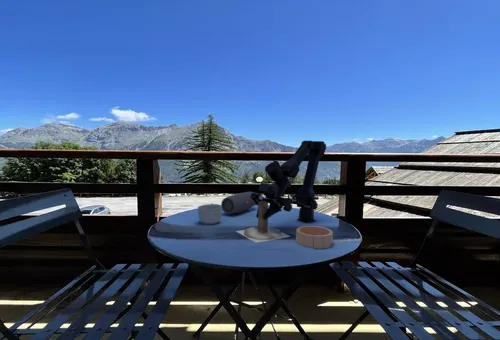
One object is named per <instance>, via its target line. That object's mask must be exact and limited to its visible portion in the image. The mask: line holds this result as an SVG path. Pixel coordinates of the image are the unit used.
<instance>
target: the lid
mask: <svg viewBox="0 0 500 340" xmlns="http://www.w3.org/2000/svg"><path fill="white" fill-rule="evenodd" d="M268 208H269V203H268V202H266V201H260V202H258V205H257V210H258V218H257V226H253V227H248V228H246V229H244V230H245V231H244V235H245V236H247V237H249V238H252V239H258V240H269V241H271V240H270V239H274V240H277V239H276V238H279V237H280V236H281V232H282V231H281V230H280V229H278V228H275V227H272V226H271V227H270V226H268V225H269V218H267V219H266V220H264V219H263V218H264V215H265V214H266V212H267V210H268ZM245 236H244V237H245ZM247 237H246V238H247Z"/></svg>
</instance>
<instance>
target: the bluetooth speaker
mask: <svg viewBox="0 0 500 340" xmlns="http://www.w3.org/2000/svg"><path fill="white" fill-rule="evenodd" d="M252 193H255V192H253V191H244V192H240V193H239V192H238V193H236V194H231V195H229V196H226V197H224V198H223V199H222V200H221V204H220V205H221V206H222V207H221V208H222V212H223V213H225V214H229V215H230V214H234V215H239V214H241V213H245V212H246V211H248V210H249V209H251V208H252V207H255V206H257V205H256V204H255V203H254V202H253V200H252V199H251V198H250V196H251V194H252Z"/></svg>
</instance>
